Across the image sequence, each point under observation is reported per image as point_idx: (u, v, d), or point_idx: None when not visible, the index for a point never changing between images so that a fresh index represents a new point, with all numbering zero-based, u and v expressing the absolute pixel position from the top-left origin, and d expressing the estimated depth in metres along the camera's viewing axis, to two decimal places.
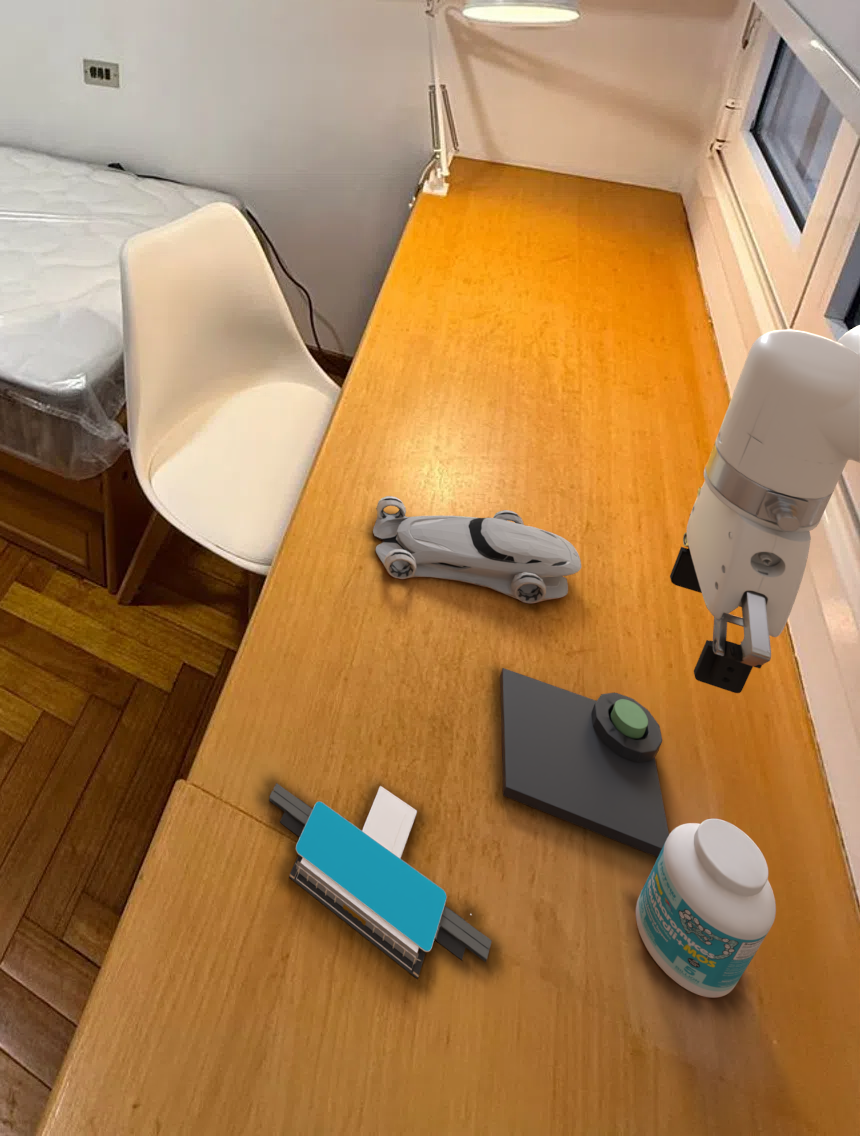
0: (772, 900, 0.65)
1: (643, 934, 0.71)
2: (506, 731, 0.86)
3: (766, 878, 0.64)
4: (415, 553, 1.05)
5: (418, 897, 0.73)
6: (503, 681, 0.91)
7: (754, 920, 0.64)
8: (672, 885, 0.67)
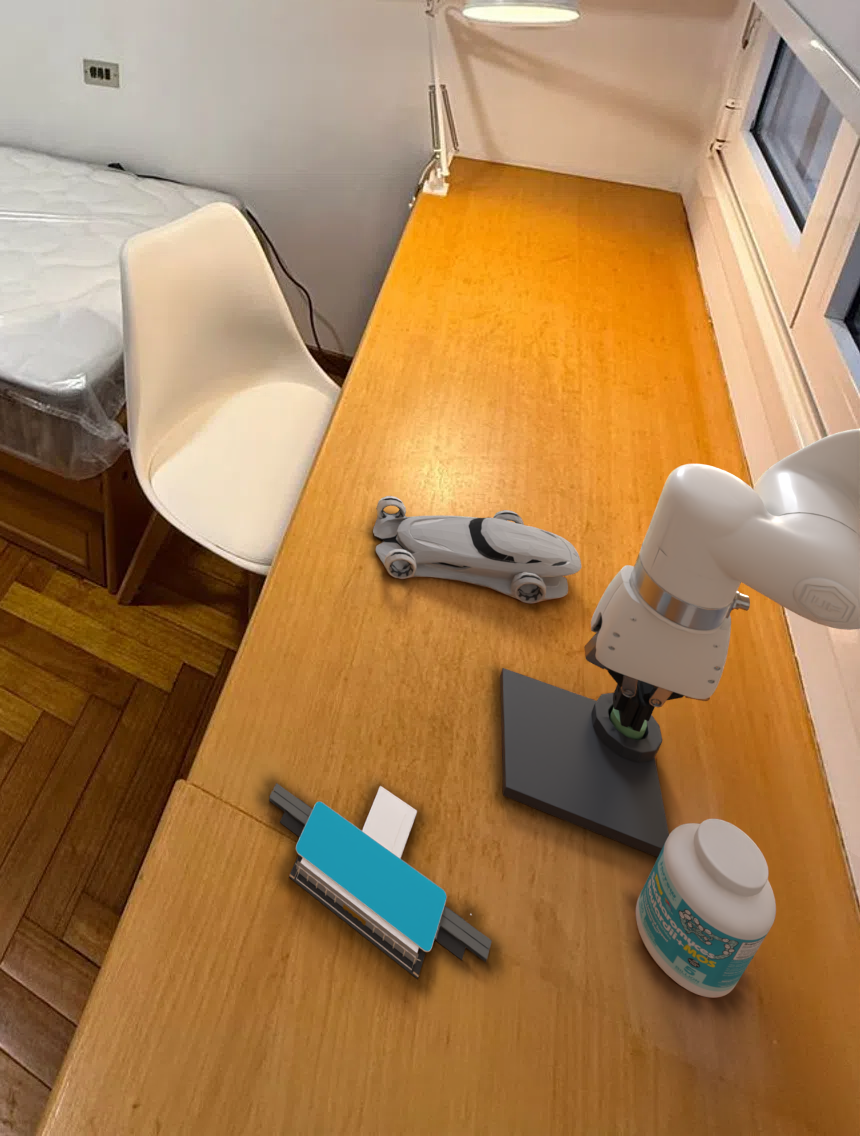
0: (773, 900, 0.65)
1: (643, 934, 0.71)
2: (506, 731, 0.86)
3: (766, 878, 0.64)
4: (415, 553, 1.05)
5: (418, 897, 0.73)
6: (503, 681, 0.91)
7: (754, 920, 0.64)
8: (672, 885, 0.67)
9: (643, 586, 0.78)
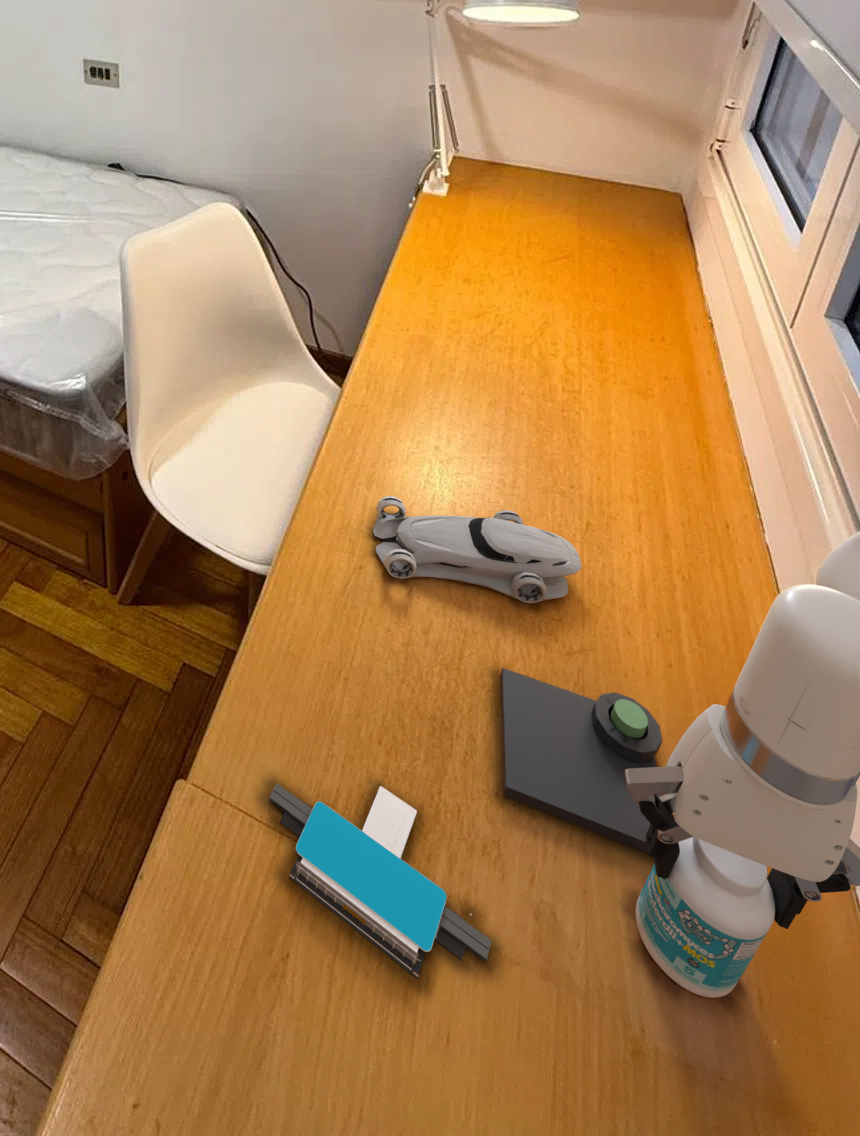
0: (772, 900, 0.65)
1: (643, 934, 0.71)
2: (506, 731, 0.86)
3: (765, 878, 0.64)
4: (415, 553, 1.05)
5: (418, 897, 0.73)
6: (503, 681, 0.91)
7: (753, 920, 0.64)
8: (672, 885, 0.67)
9: (741, 740, 0.60)
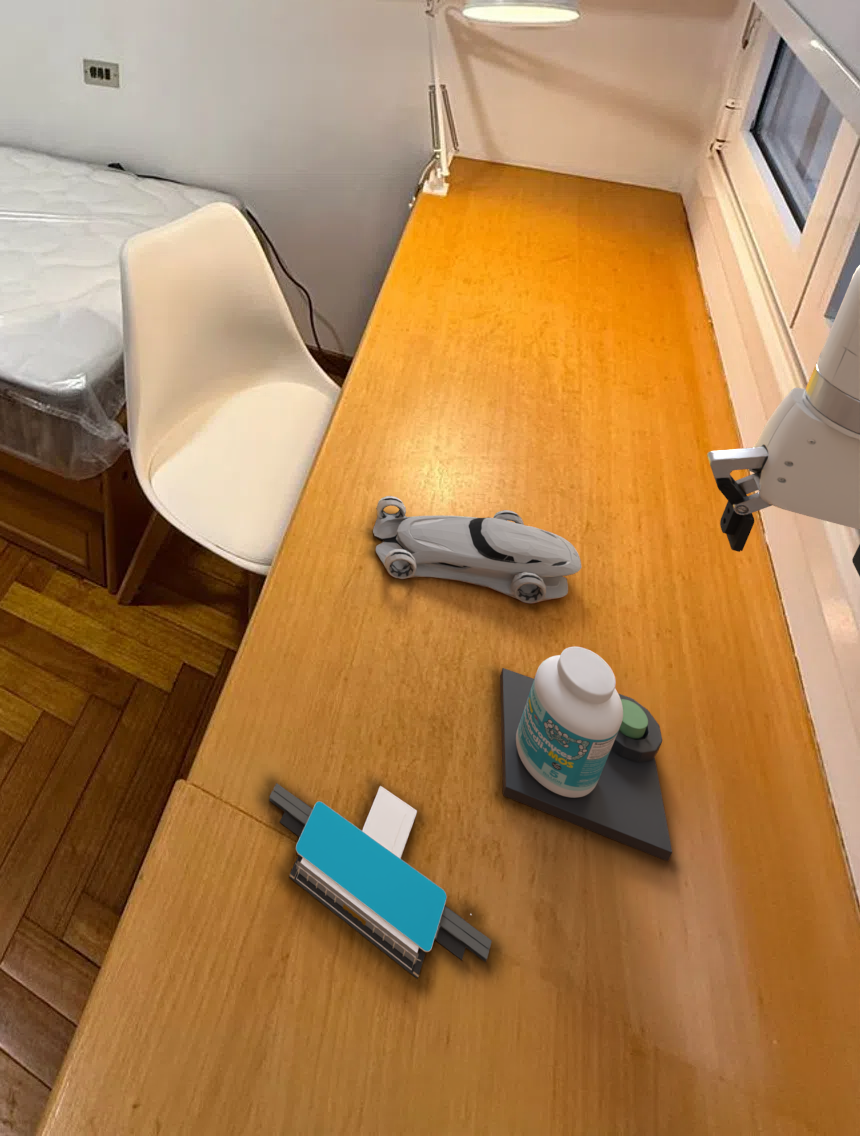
0: (620, 709, 0.77)
1: (520, 751, 0.83)
2: (506, 731, 0.86)
3: (613, 688, 0.77)
4: (415, 553, 1.05)
5: (418, 897, 0.73)
6: (503, 681, 0.91)
7: (602, 723, 0.76)
8: (539, 701, 0.79)
9: (825, 401, 0.67)
